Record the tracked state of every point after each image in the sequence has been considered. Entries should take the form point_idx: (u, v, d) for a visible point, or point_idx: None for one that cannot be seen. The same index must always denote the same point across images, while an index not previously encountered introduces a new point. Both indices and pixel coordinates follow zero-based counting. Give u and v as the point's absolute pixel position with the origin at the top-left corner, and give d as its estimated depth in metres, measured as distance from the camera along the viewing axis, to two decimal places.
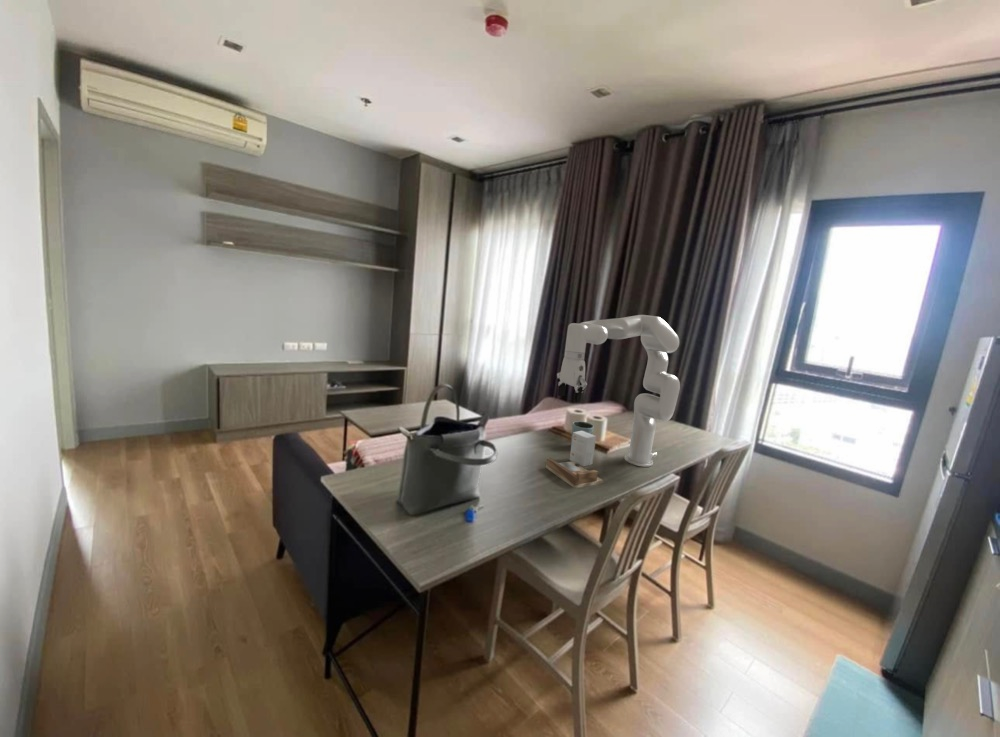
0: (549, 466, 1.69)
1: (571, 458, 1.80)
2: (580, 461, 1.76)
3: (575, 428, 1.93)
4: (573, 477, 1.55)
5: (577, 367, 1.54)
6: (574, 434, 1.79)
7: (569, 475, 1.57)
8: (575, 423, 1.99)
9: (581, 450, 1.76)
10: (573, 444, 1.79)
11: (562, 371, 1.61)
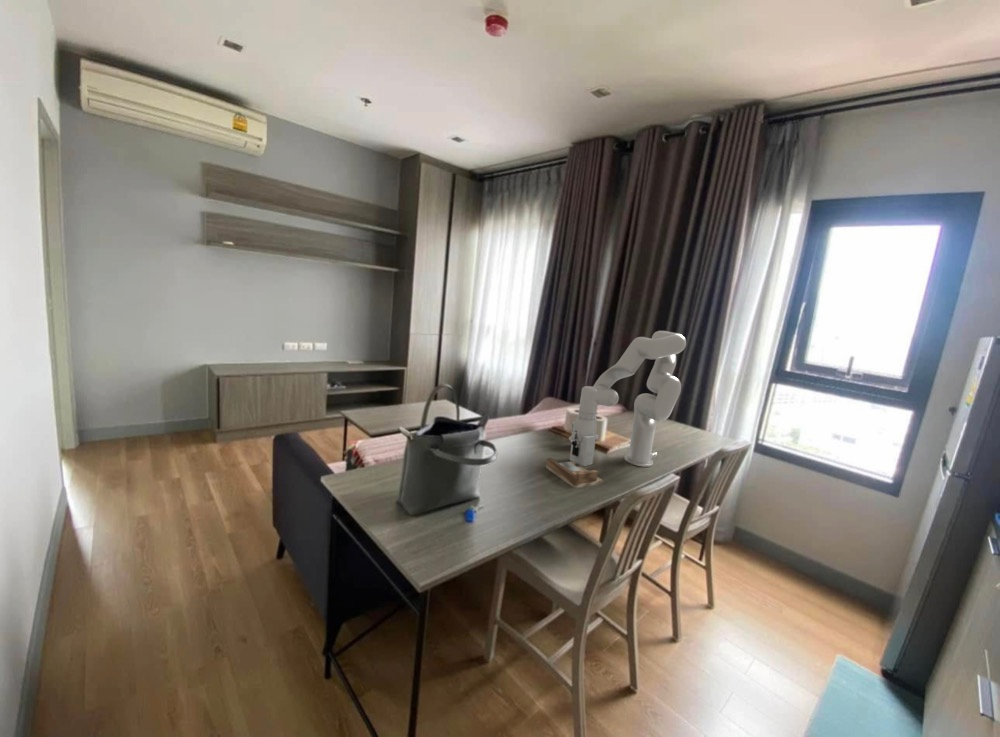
0: (549, 466, 1.69)
1: (571, 458, 1.80)
2: (580, 461, 1.77)
3: None
4: (573, 477, 1.55)
5: None
6: None
7: (569, 475, 1.57)
8: None
9: (581, 450, 1.76)
10: None
11: (582, 432, 1.75)
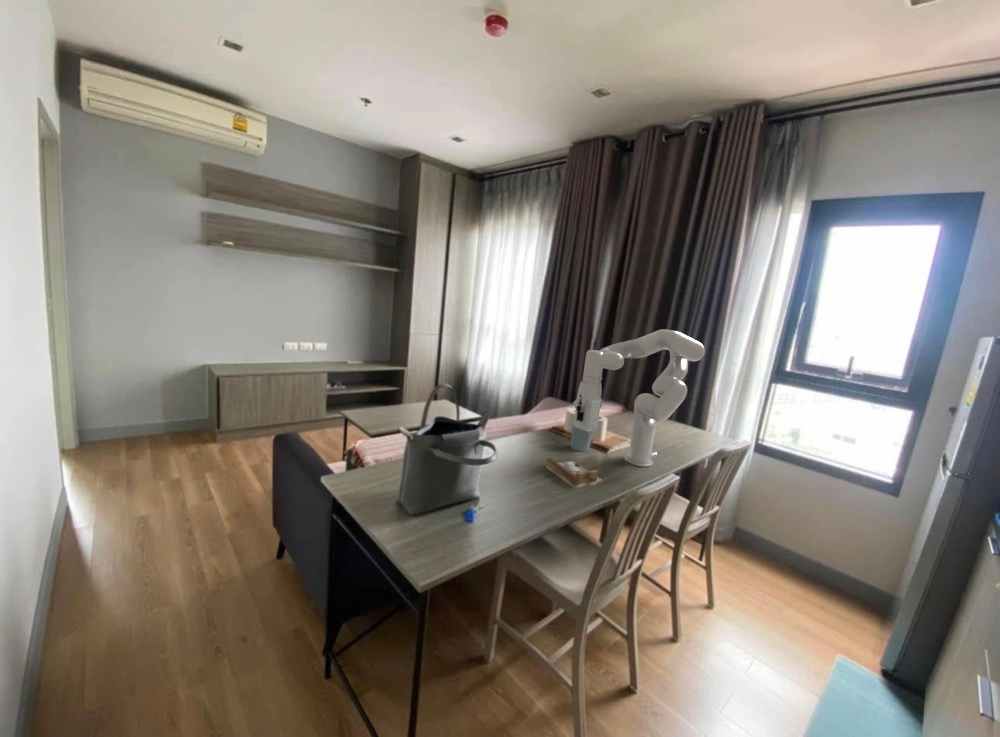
0: (549, 466, 1.69)
1: (575, 424, 1.78)
2: (585, 426, 1.74)
3: (575, 428, 1.93)
4: (573, 477, 1.55)
5: None
6: None
7: (569, 475, 1.57)
8: None
9: (586, 415, 1.73)
10: None
11: (587, 396, 1.72)
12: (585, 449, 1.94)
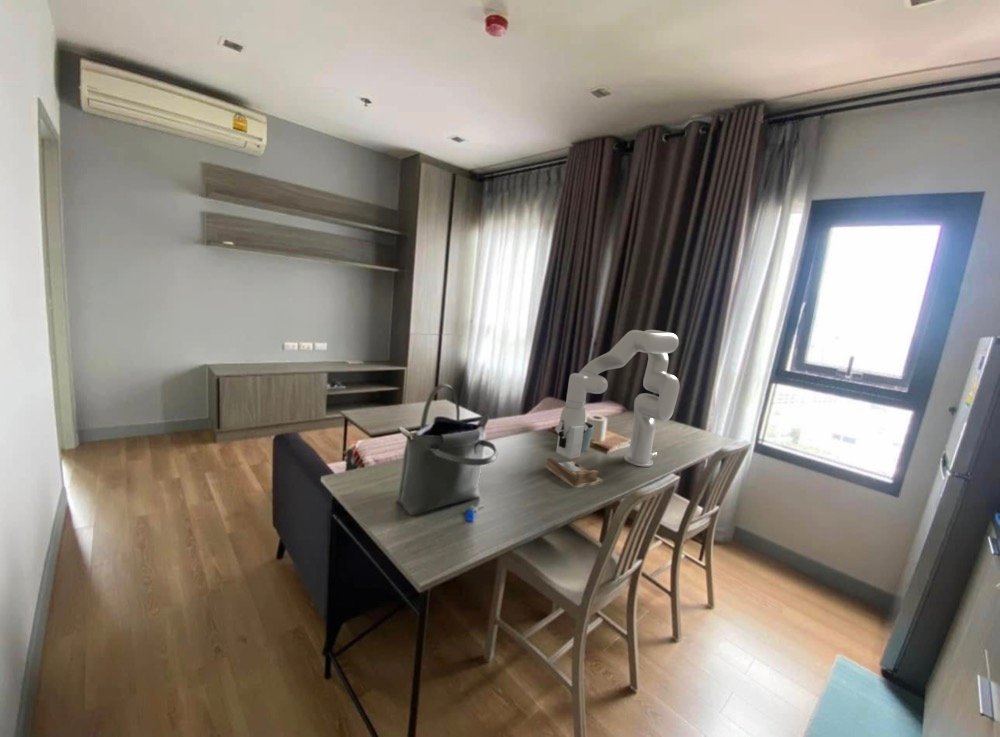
0: (549, 466, 1.69)
1: (558, 450, 1.70)
2: (567, 452, 1.66)
3: None
4: (573, 477, 1.55)
5: None
6: None
7: (569, 475, 1.57)
8: None
9: (568, 441, 1.65)
10: None
11: (570, 422, 1.64)
12: (585, 449, 1.94)
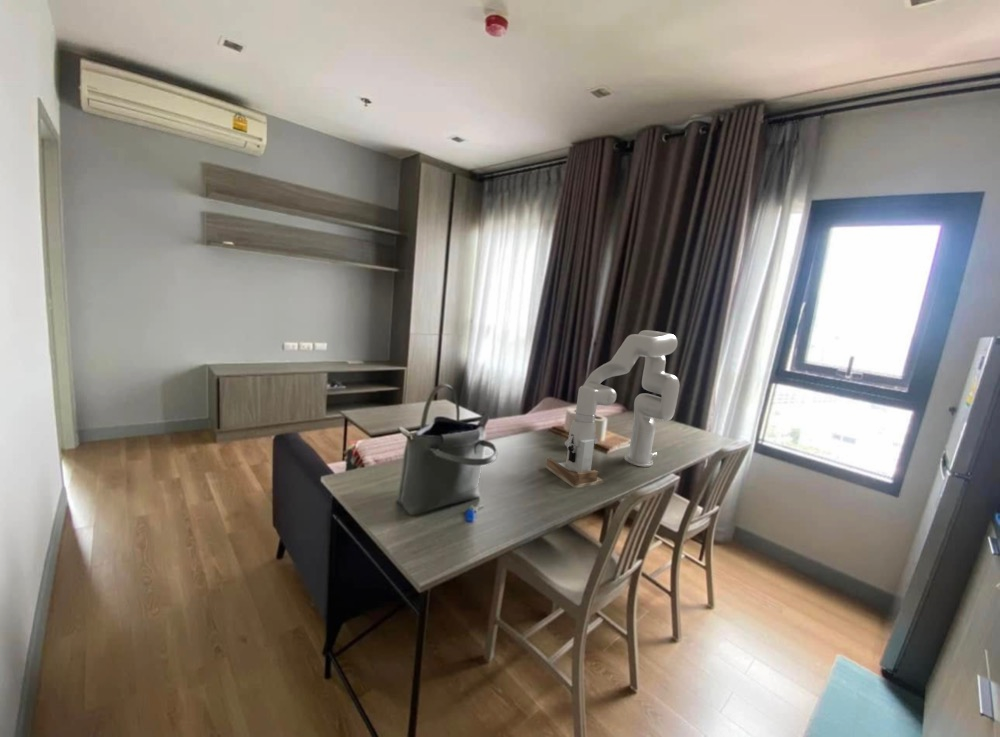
0: (549, 466, 1.69)
1: (567, 464, 1.65)
2: (577, 467, 1.61)
3: None
4: (573, 477, 1.55)
5: None
6: None
7: (569, 475, 1.57)
8: None
9: (578, 456, 1.60)
10: None
11: (580, 436, 1.59)
12: None
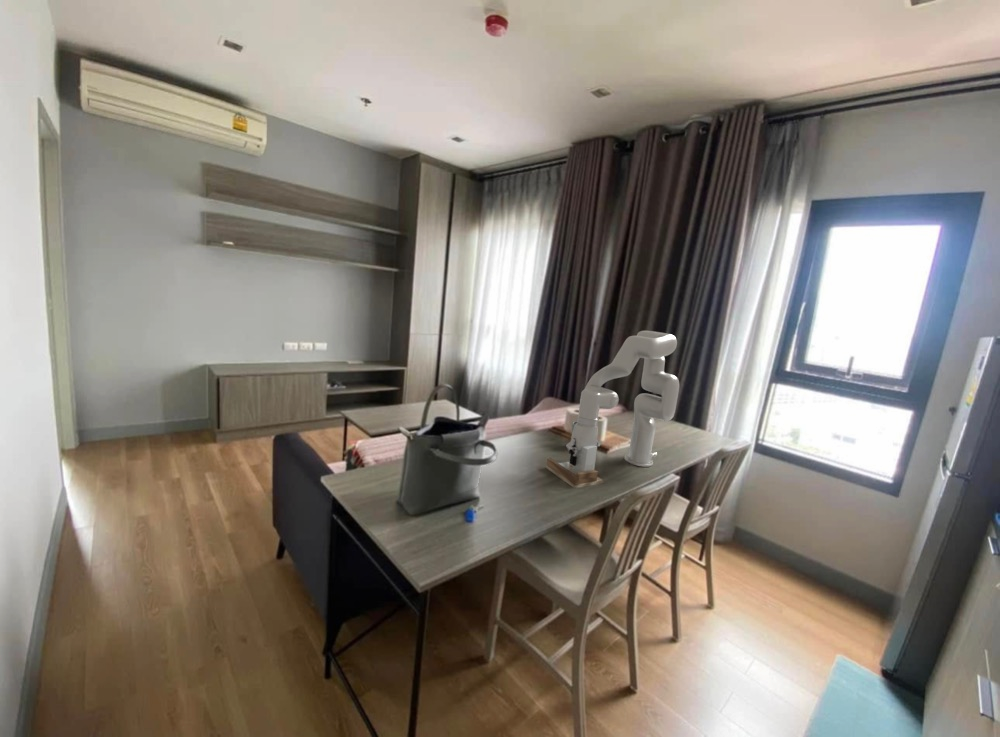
0: (549, 466, 1.69)
1: (570, 470, 1.64)
2: None
3: None
4: (573, 477, 1.55)
5: None
6: None
7: (569, 475, 1.57)
8: (575, 423, 1.99)
9: (580, 462, 1.59)
10: None
11: (582, 440, 1.57)
12: None
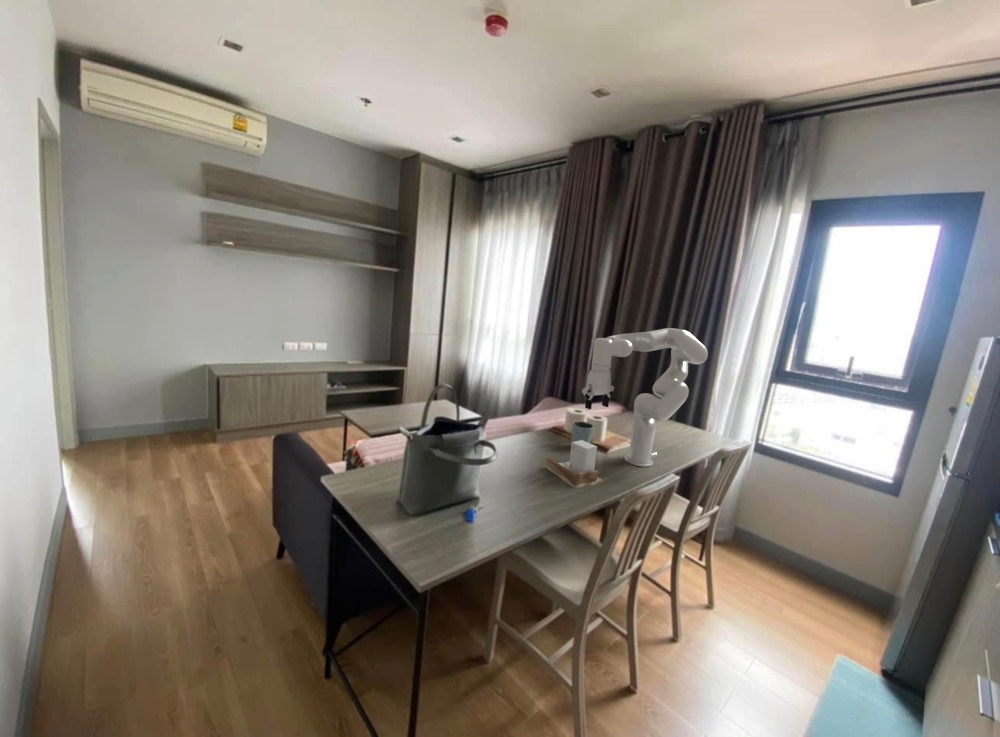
0: (549, 466, 1.69)
1: (570, 470, 1.64)
2: None
3: (575, 428, 1.93)
4: (573, 477, 1.55)
5: None
6: (573, 444, 1.62)
7: (569, 475, 1.57)
8: (575, 423, 1.99)
9: (580, 462, 1.59)
10: (572, 455, 1.62)
11: (597, 385, 1.69)
12: None
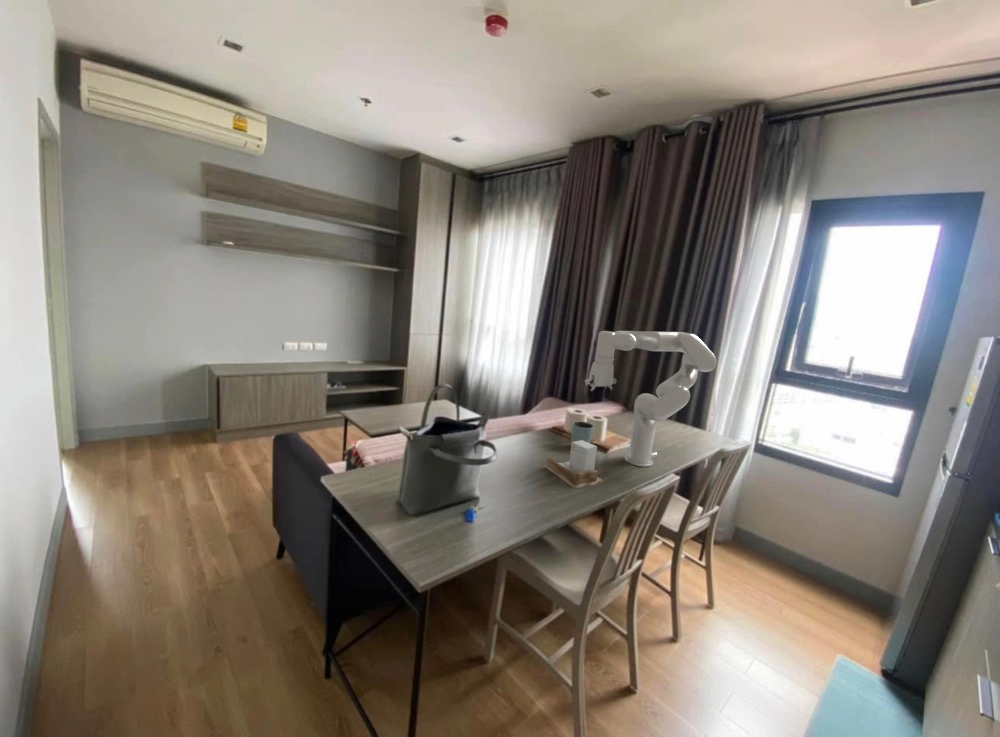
0: (549, 466, 1.69)
1: (570, 470, 1.64)
2: None
3: (575, 428, 1.93)
4: (573, 477, 1.55)
5: None
6: (573, 444, 1.62)
7: (569, 475, 1.57)
8: (575, 423, 1.99)
9: (580, 462, 1.59)
10: (572, 455, 1.62)
11: (599, 376, 1.74)
12: None
